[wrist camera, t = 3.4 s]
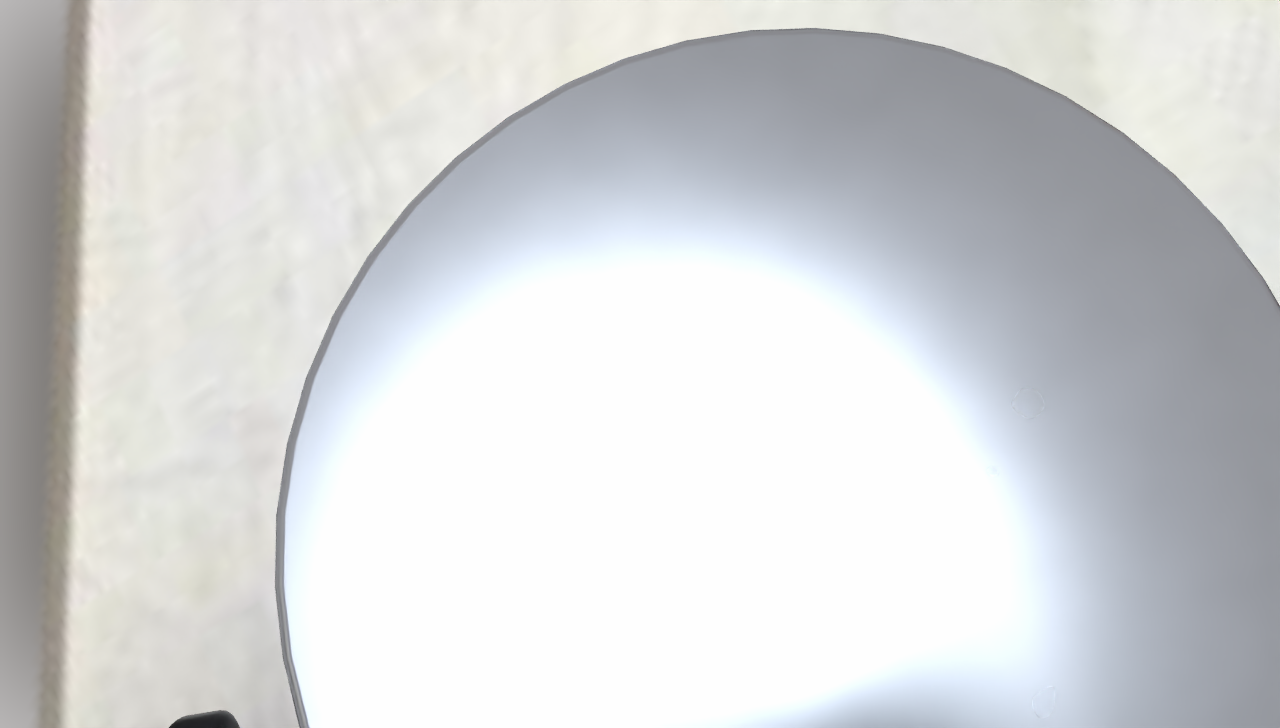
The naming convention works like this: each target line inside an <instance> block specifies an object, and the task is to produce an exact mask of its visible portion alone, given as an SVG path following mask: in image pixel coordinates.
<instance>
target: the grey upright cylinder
mask: <svg viewBox="0 0 1280 728" xmlns="http://www.w3.org/2000/svg"><path fill="white" fill-rule="evenodd" d="M275 591H276V600H277V609H278V618H279V627H280V636H281V646H282V655H283V661H284V665H285V669H286V673H287V677H288V681H289V685H290V689H291V694H292V698H293V702H294V706H295V710H296V714H297V718H298V722H299V726H300V728H1280V306H1279V304H1278V302H1277V301H1276V299H1275V297H1274V295H1273V294H1272V292H1271V290H1270V289H1269V287H1268V285H1267V283H1266V282H1265V280H1264V278H1263V277H1262V276H1261V274H1260V273H1259V272H1258V270H1257V269H1256V268H1255V267H1254V265H1253V264H1252V263H1251V261H1250V260H1249V259H1248V257H1247V256H1246V255H1245V253H1244V252H1243V251H1242V249H1241V248H1240V247H1239V245H1238V244H1237V243H1236V241H1235V240H1234V239H1233V237H1232V236H1231V235H1230V233H1229V232H1228V231H1227V230H1226V228H1225V227H1224V226H1223V224H1222V223H1221V222H1220V221H1219V220H1218V219H1217V218H1216V217H1215V216H1214V215H1213V214H1212V213H1211V212H1210V211H1209V210H1208V209H1207V208H1206V207H1205V206H1204V205H1203V204H1202V202H1201V201H1200V200H1199V199H1198V198H1197V197H1196V196H1195V195H1194V194H1193V193H1192V192H1191V191H1190V190H1189V189H1188V188H1187V187H1186V186H1185V185H1184V184H1183V183H1182V182H1181V181H1180V180H1179V179H1178V178H1177V177H1176V176H1175V175H1174V174H1173V173H1172V172H1171V171H1169V170H1168V169H1167V168H1166V167H1165V166H1163V165H1162V164H1161V163H1160V162H1158V161H1157V160H1156V159H1155V158H1153V157H1152V156H1151V155H1150V154H1149V153H1147V152H1146V151H1145V150H1144V149H1142V148H1141V147H1140V146H1139V145H1137V144H1136V143H1135V142H1134V141H1133V140H1131V139H1130V138H1129V137H1128V136H1126V135H1125V134H1124V133H1123V132H1121V131H1120V130H1118V129H1116V128H1115V127H1113V126H1112V125H1110V124H1109V123H1107V122H1105V121H1104V120H1102V119H1101V118H1099V117H1097V116H1096V115H1094V114H1093V113H1091V112H1090V111H1088V110H1086V109H1085V108H1083V107H1082V106H1080V105H1078V104H1077V103H1075V102H1074V101H1072V100H1071V99H1069V98H1067V97H1066V96H1064V95H1062V94H1060V93H1057V92H1055V91H1053V90H1051V89H1049V88H1047V87H1045V86H1043V85H1041V84H1039V83H1036V82H1034V81H1032V80H1030V79H1028V78H1026V77H1024V76H1022V75H1020V74H1018V73H1015V72H1013V71H1011V70H1009V69H1007V68H1004V67H1002V66H999V65H996V64H993V63H990V62H987V61H984V60H981V59H978V58H975V57H972V56H969V55H966V54H963V53H960V52H957V51H954V50H951V49H948V48H945V47H941V46H936V45H932V44H927V43H922V42H917V41H912V40H908V39H903V38H898V37H893V36H888V35H884V34H878V33H866V32H854V31H843V30H831V29H819V28H805V29H777V30H750V31H744V32H737V33H731V34H725V35H719V36H712V37H706V38H700V39H694V40H687V41H683V42H680V43H676V44H673V45H670V46H666V47H663V48H659V49H656V50H652V51H649V52H645V53H642V54H638V55H635V56H632V57H628V58H625V59H622V60H620V61H617V62H615V63H613V64H610V65H608V66H606V67H603V68H601V69H599V70H596V71H594V72H592V73H589V74H587V75H585V76H582V77H580V78H578V79H575V80H573V81H571V82H568V83H566V84H564V85H562V86H561V87H559V88H557V89H555V90H554V91H552V92H550V93H549V94H547V95H545V96H544V97H542V98H540V99H538V100H537V101H535V102H533V103H532V104H530V105H528V106H526V107H525V108H523V109H521V110H520V111H518V112H516V113H515V114H513V115H511V116H509V117H508V118H506V119H505V120H504V121H502V122H501V123H500V124H499V125H497V126H496V127H495V128H493V129H492V130H491V131H489V132H488V133H487V134H486V135H484V136H483V137H482V138H480V139H479V140H478V141H476V142H475V143H474V144H473V145H471V146H470V147H469V148H467V149H466V150H465V151H463V152H462V153H461V154H460V155H458V156H457V157H456V158H455V159H454V160H453V161H452V162H451V163H450V164H449V165H448V166H447V167H446V168H445V169H444V170H443V171H442V172H441V173H440V174H438V175H437V176H436V177H435V178H434V179H433V180H432V181H431V182H430V183H429V184H428V185H427V186H426V187H425V188H424V189H423V190H422V191H421V192H420V193H419V194H418V195H417V196H416V197H415V198H414V199H413V200H412V201H411V202H410V203H409V204H408V206H407V207H406V208H405V209H404V211H403V212H402V213H401V215H400V216H399V217H398V218H397V220H396V221H395V222H394V224H393V225H392V226H391V227H390V229H389V230H388V231H387V233H386V234H385V235H384V236H383V238H382V239H381V240H380V242H379V243H378V244H377V245H376V247H375V248H374V249H373V251H372V252H371V253H370V254H369V256H368V257H367V259H366V260H365V262H364V264H363V265H362V267H361V269H360V270H359V272H358V274H357V276H356V277H355V279H354V281H353V282H352V284H351V286H350V287H349V289H348V291H347V292H346V294H345V296H344V297H343V299H342V301H341V303H340V304H339V306H338V308H337V309H336V311H335V313H334V314H333V316H332V319H331V321H330V323H329V326H328V328H327V330H326V333H325V335H324V337H323V340H322V342H321V344H320V347H319V349H318V351H317V354H316V356H315V358H314V361H313V363H312V365H311V368H310V370H309V372H308V374H307V377H306V380H305V383H304V387H303V390H302V394H301V397H300V401H299V404H298V408H297V411H296V415H295V418H294V422H293V425H292V429H291V432H290V436H289V439H288V443H287V448H286V454H285V461H284V468H283V474H282V481H281V487H280V494H279V501H278V507H277V514H276V560H275Z"/></svg>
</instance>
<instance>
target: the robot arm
mask: <svg viewBox="0 0 1280 728" xmlns="http://www.w3.org/2000/svg"><path fill="white" fill-rule="evenodd" d="M169 728H240V727H239V725H238V723H237V721H236V719H235V718H234V716H233V715H232V714H231V713H229V712H227V711H222V710H219V711H213V712H207V713H201V714H195V715H188V716H184V717H182V718H180V719H178V720H177V721H175V722H174V723H173V724H172V725H171V726H170V727H169Z"/></svg>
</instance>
